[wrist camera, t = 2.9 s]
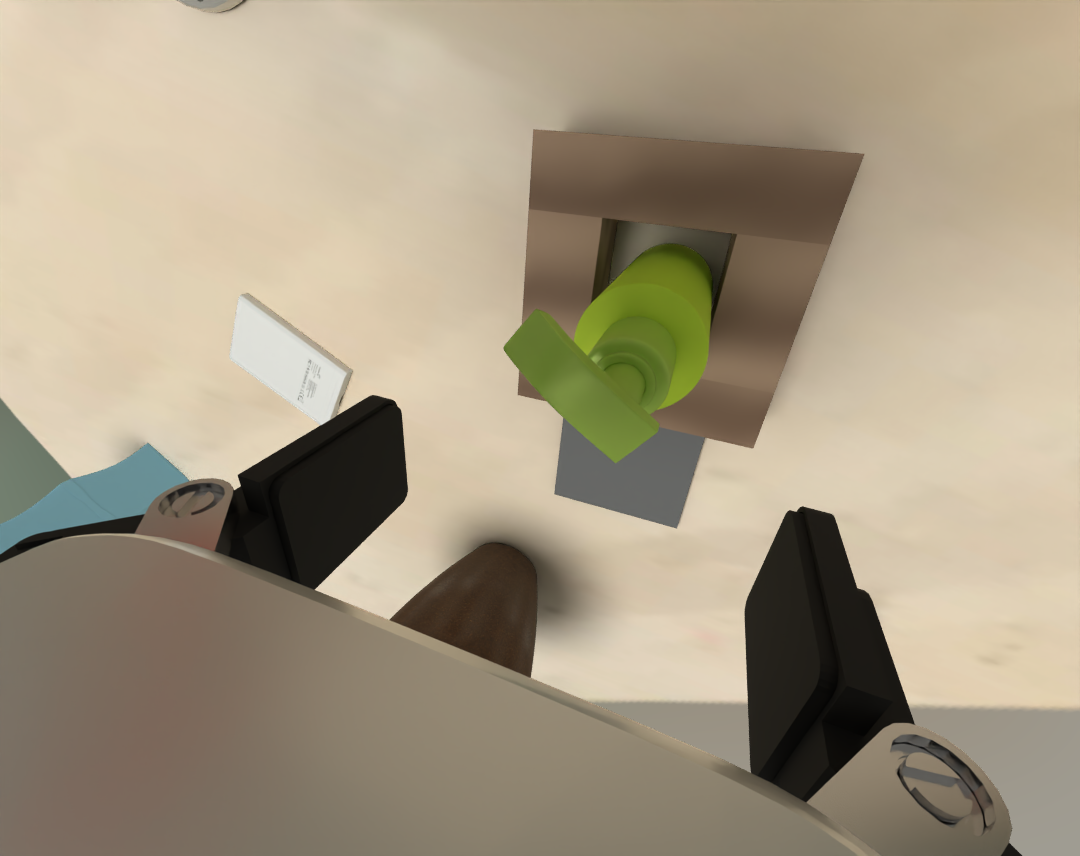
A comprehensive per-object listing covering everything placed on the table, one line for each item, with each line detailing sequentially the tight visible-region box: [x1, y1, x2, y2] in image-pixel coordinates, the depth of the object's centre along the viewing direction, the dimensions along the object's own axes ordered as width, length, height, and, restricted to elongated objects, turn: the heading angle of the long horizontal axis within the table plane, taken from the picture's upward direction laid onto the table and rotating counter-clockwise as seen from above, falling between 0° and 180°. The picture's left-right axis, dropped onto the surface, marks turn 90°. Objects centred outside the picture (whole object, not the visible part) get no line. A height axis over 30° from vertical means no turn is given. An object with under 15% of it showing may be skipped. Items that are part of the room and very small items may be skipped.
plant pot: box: [390, 543, 537, 678], centre depth 43 cm, size 15×15×16 cm
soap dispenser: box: [504, 244, 713, 463], centre depth 23 cm, size 6×7×20 cm
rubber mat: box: [554, 418, 705, 528], centre depth 38 cm, size 11×11×1 cm
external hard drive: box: [230, 293, 352, 425], centre depth 46 cm, size 2×8×12 cm
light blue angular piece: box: [0, 443, 189, 554], centre depth 56 cm, size 8×8×20 cm
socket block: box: [518, 129, 864, 448], centre depth 29 cm, size 16×16×5 cm
